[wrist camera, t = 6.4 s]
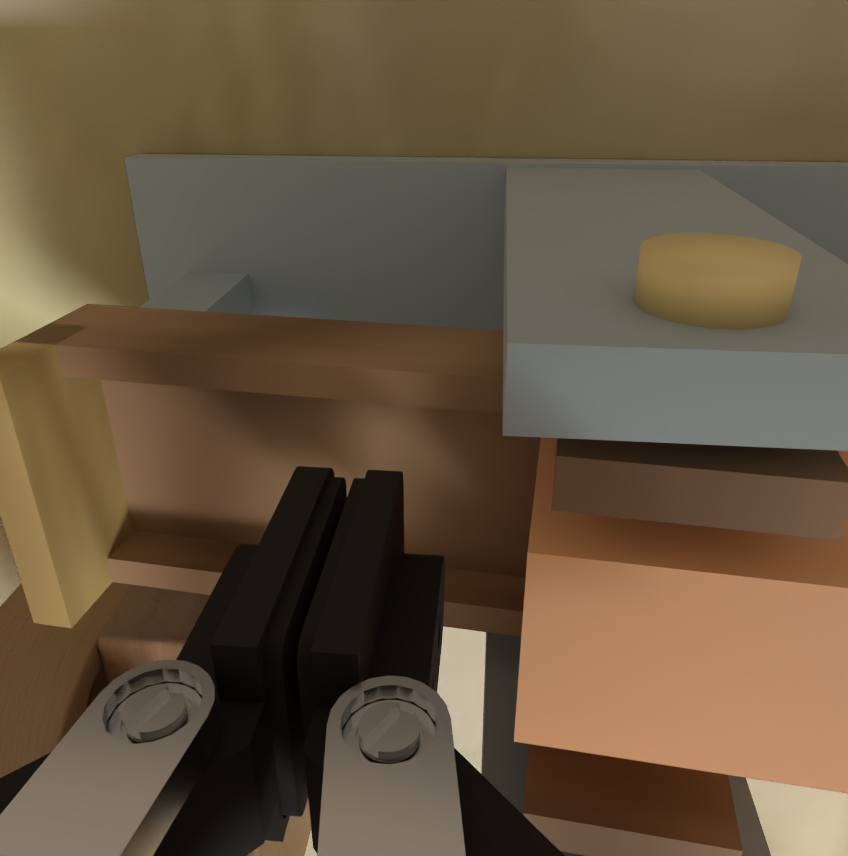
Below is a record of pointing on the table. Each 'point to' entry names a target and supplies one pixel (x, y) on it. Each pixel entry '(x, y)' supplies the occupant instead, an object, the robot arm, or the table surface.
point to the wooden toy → (93, 671)
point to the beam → (350, 458)
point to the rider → (685, 644)
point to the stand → (543, 298)
